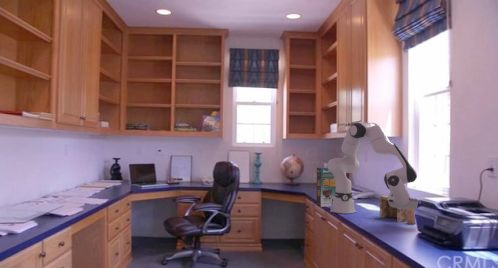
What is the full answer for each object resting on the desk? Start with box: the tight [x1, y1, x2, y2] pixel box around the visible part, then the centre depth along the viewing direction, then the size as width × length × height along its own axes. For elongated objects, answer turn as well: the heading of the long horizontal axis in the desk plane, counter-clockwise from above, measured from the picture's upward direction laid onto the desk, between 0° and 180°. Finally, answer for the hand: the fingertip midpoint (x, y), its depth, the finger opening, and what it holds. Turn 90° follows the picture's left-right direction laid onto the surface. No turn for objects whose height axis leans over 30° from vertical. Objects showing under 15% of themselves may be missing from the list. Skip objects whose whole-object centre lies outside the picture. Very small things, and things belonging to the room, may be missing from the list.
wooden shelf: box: [379, 195, 407, 223], centre depth 251 cm, size 12×16×14 cm
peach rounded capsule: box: [406, 209, 417, 225], centre depth 237 cm, size 5×5×9 cm
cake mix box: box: [316, 167, 336, 208], centre depth 302 cm, size 22×6×30 cm, turn 111°
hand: (409, 211), depth 235 cm, fingers open, 8 cm apart
